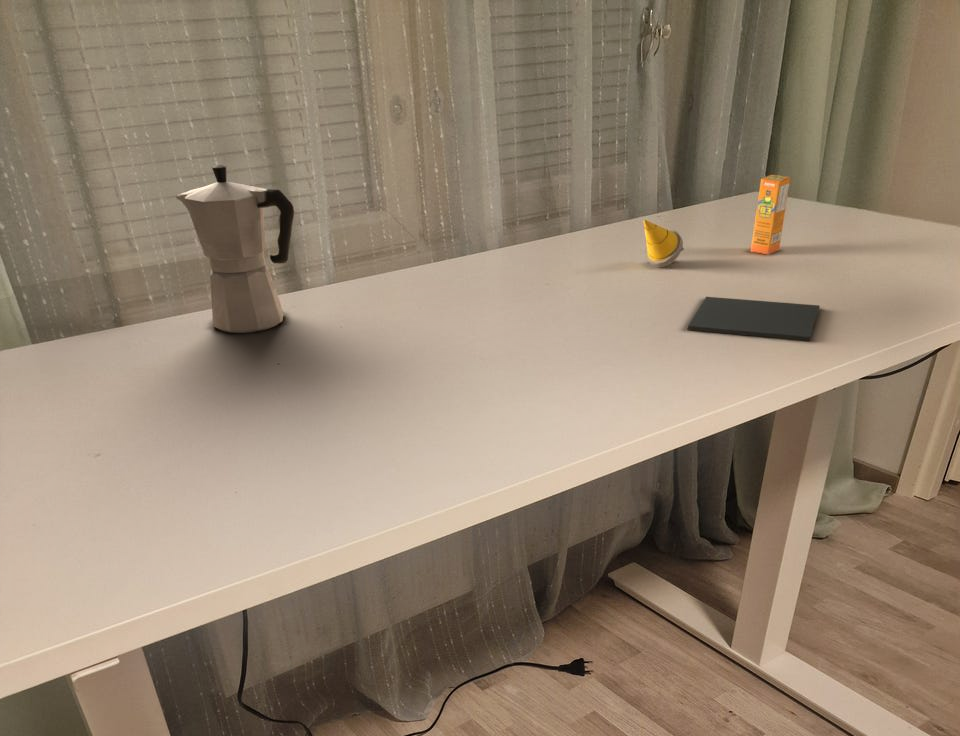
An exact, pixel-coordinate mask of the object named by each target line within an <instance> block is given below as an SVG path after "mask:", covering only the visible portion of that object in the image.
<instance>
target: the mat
mask: <svg viewBox="0 0 960 736" xmlns="http://www.w3.org/2000/svg"><path fill="white" fill-rule="evenodd" d="M819 310H820V305H819V304H806V303H805V304H804V303H793V302H780V301H765V300H754V299H741V298H729V297H728V298H727V297H717V296H705V298H704V299H703V300H702V303H701V304H700V305H699V307H698V309H697V310H696V312H695V314H694V315H693V317H692V319H691V320H690V322H689V323H688V325H687V331H696V332H706V333H715V334H728V335H738V336H751V337H761V338H770V339H771V338H773V339H783V340H793V341H805V342H810V341H811V338H812V335H813V331H814V327H815V324H816V321H817V318H818V314H819Z"/></svg>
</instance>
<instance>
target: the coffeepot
mask: <svg viewBox="0 0 960 736" xmlns="http://www.w3.org/2000/svg"><path fill="white" fill-rule="evenodd" d="M211 169H212V171H213V174H214V177H215V179H216V182H214V183H213V182H212V183H211V184H208V185H205V186H202V187H198V188H194V189H190V190H187V191H183V192H182V193H179V194H176V196H175V198H176V200H178V201H180V202H181V203H182V204H183V206H184V207H185V209H187V211H188V214H189V216H190V219H191V221H192V224H193V227H194V230H195V233H196V235H197V238H198V241H199V243H200V247H201V249H202V252H203V255H204V256H205V257H207V258H208V260H209V266H210V270H211V271H210V273H209V277H210V297H211V312H212V313H211V315H212V326H213V327H214V328H216V329H218V330H219V331H221V332H224V333H225V332H226V333H234V334H235V333H236V334H242V333H243V334H244V333H245V334H246V333H254V332H259V331H265V330H268V329H271V328H274V327H276V326H278V325H279V324H281V323H282V322H283V319H284V310H283V309H284V308H283V306H282V303H281V301H280V297H279V295H278V291H277V289H276V286H275V283H274V280H273V276H272V274H271V270H270V268H269V266H268V265H267V264H266V260H265V254H264V252H265V249H266V231H265V210H264V209H265V208H270V207H276V208H277V209H278V211H279V212H280V213H279V216H278V226H279V228H278V229H279V231H278V236H277V239H276V241H277V248H278V253H277V254H270V255H269V259H270V261H271V262H272V263H273V264H278V265H279V264H285V263H287V262H288V261H289V253H290V244H291V237H292V229H293V222H294V217H295V210H294V205H293V203H292V202H291V201H290V199H289V198H288V197H287V196H286V194H285V193H284V192H282V190H280V189H279V188H263V187H259V186H254V185H247V184H242V183H237V182H232V181H228V180H227V166H226V165H224V164H220V163H219V164H215V165H214V166H212V167H211Z"/></svg>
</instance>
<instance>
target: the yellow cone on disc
mask: <svg viewBox="0 0 960 736" xmlns="http://www.w3.org/2000/svg"><path fill="white" fill-rule="evenodd" d="M643 226H644V227H643V228H644V234H645V241H646V248H645V252H644V253H645V258H646V260H647V262H649V264H650V265H651V266H652V267H655V268H664V267H667V266H669V265H670V264H672V263H673V262H675V260H677V259H678V257H679V256H680V254H681V253H682V252H683V251H684V250H685V248H684V241H683V238H682V236H681V235H680V233H679V232H678V231H677V230H675V229H671V228H670V229H669V228H668V229H667V228H665V227H662V226H660V225H657V224H656V223H654V222H651V221H649V220H647V219H643Z"/></svg>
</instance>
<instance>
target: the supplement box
mask: <svg viewBox="0 0 960 736" xmlns="http://www.w3.org/2000/svg"><path fill="white" fill-rule="evenodd" d="M790 183H791V176H785V175H778V174H770V175H767V176H765V177H762V178H761V179H760V185H759V191H758V200H757V205H756V211H755V219H754V225H753V232H752V238H751V244H750V245H751V246H750V252H751V253H758V254H764V255H767V256H768V255H771V254H773V253H776V252H777V251H779V250H780V248H781V247H780V246H781V240H782V234H783V228H784V227H783V226H784V221H785V215H786V209H787V201H788V195H789V190H790Z"/></svg>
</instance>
